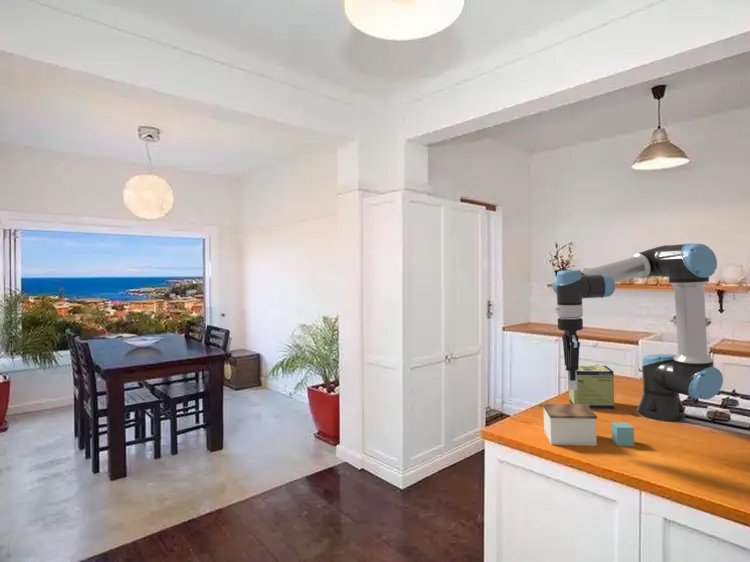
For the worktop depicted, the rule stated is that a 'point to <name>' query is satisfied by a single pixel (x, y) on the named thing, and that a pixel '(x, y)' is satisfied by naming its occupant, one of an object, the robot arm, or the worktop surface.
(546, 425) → the box
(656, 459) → the worktop surface
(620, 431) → the block
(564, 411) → the lid
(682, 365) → the robot arm
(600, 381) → the protein box
